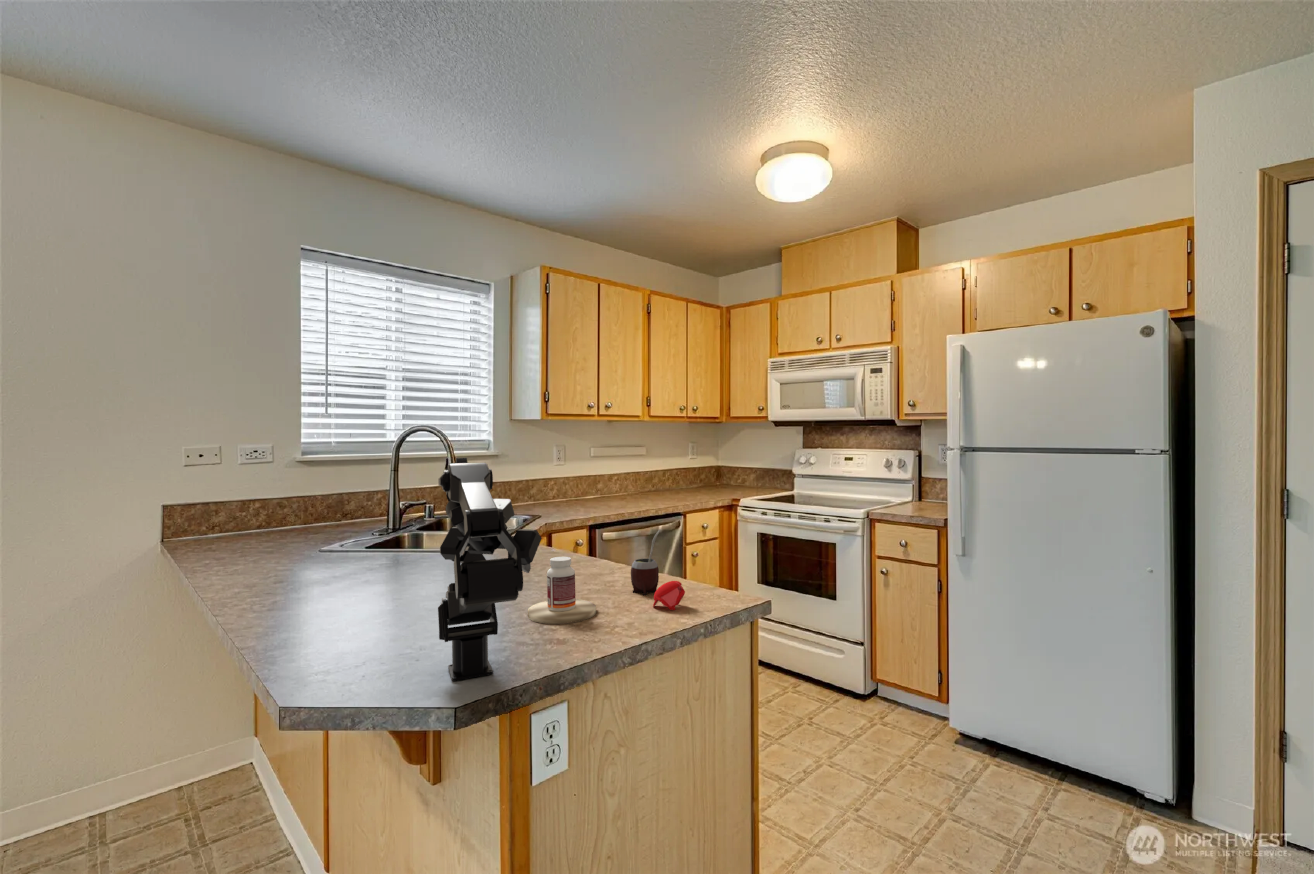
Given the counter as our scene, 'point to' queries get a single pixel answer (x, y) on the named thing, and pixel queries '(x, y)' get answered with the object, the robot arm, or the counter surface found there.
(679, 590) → the cap
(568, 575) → the pill bottle
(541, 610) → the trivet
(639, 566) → the mate gourd
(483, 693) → the counter surface
